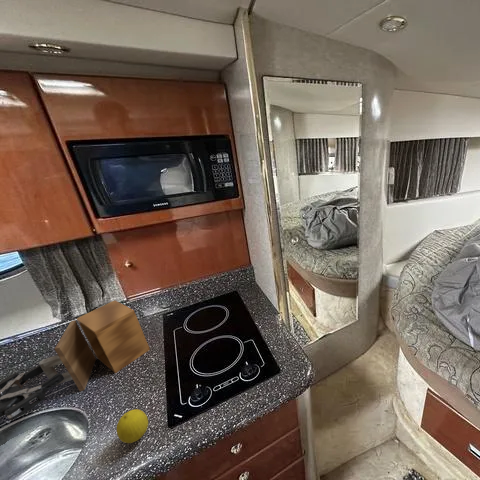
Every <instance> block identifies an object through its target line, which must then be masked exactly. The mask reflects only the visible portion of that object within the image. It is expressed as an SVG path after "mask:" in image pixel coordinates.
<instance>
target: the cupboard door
mask: <svg viewBox="0 0 480 480" xmlns="http://www.w3.org/2000/svg"><path fill="white" fill-rule="evenodd" d="M78 324H79V323H78V321H77V319H74V320H71V321H70V322H69V324H68V326H67V327H66V329H65V331H64V332H63V333H62V336H61V337H60V339H59V341H58V342H57V344H56V346H55V347H54V351H55V353H56V354H55V355H53V356H51V357H47V358H44V359H42V360H40V361H39V362H38V365H40V366H41V368H42V369H43V371H44V372H43V373H44V374H45V376H46V377H47V380H48V379H50V378H52V377H53V376H55V375H56V374H58V373H59V372H57V370H56V368H55V366H59V365H61V364H63V366H64V367H65V369H66V371H65V372H63V373H61V374H62V375H63V377H64V380H63V381H61V382H60V383H59V384H57V385H56V386H58V385H61V384H64V383H67V382H71V381H73V382H74V383H75V386H76V387H77V389H78V390H79V392H83V391H85V390H86V388H87V384H88V382H89V380H90V377H91V374H92V371H93V369H94V367H95V364H96V361H97V357H96V355H95V353H94V351H93V350H92V348H91V346H90V344H89V342H88V340H87V338H86V336H85V334H84V333H83V331H82V329H81V327H80V325H78Z"/></svg>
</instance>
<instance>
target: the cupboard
mask: <svg viewBox="0 0 480 480" xmlns="http://www.w3.org/2000/svg"><path fill="white" fill-rule="evenodd" d="M76 322H77V324H79V325H78V326H79V328H80V330H81V331H82V333H83V335H84V337H85V339H86V341H87V343H88V345H89V347H90V348H91V350H92V352H93V354H94V356H95V358H96V360H97V359H98V360H99V361H100V362H101V363H102V364H103V365H104V366H106V367H107V368H108V369H109V370H111V372H113V373H115V374H117V373H118V372H120V371H122V370H123V369H124V368H125V367H127V366H129V365H130V364H131V363H133V362H134V361H136V360H137V359H138V358H140V357H141V356H143V355H144V354H146V353H147V352H149V351H151V349H150V346H149V344H148V342H147V339H146V336H145V334H144V331H143V329H142V327H141V324H140V322H139V319H138V317H137V314H136V312H135V310H134V309H132V308H130V307H128V306H127V305H125V304H123V303H121V302H119V301H118V300H116V299H115V300H111V301H110V302H108V303H106V304H104V305H102V306H99V307H97V308H95V309H93V310H91V311H90V312H87V313H85V314H82V315H81V316H79V317H77V318H76Z"/></svg>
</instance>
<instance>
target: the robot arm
mask: <svg viewBox="0 0 480 480" xmlns="http://www.w3.org/2000/svg"><path fill="white" fill-rule="evenodd" d="M43 373H45V372H44V371H43V369H42V368H41V366H40V365H39V364H38V365H36V366H34V367H32V369H30V370H28V371H26V372H21V373H19V372H18V371H17V372H14V373H12V374H10V375H9V376H7V377H6V378H4V379H2V380H1V381H0V419H1V418H2V417H4V416H6V418H8V420H9V421H11V422H12V421H14V420H16V419H17V418H19V417H20V416H22V415H24V414H25V413H27V412H28V411H30V410H32V409H33V408H34V407H37V406H38V405H39V404H41V403H42V402H43V401H45V400H46V399H47V396H46V394H47V392H48V391H50V390H51V389H53V388H55V386H58V385H57V384H59V383H60V382H61V381H63V380H64V377H63V375H62V374H63V373H61V372H57V373H58V374H56V375H55V376H53V377H52V378H50V379H48V378H47V380H45V381H43V382H42V383H41V384H40V385H37V386H34V387H31V388H24V386H25V385H26V384H28V382H29V381H30V380H33V379H34V378H37V377H38V376H40V375H41V374H43ZM59 385H60V384H59ZM33 400H34V401H33Z"/></svg>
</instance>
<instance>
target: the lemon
mask: <svg viewBox="0 0 480 480" xmlns="http://www.w3.org/2000/svg"><path fill="white" fill-rule="evenodd" d="M148 428H149V419H148V416H147V413H145V412H144V411H143V410H142V409H138V408H137V409H136V408H135V409H130V410H128V411H126V412H125V413H124V414H122V416H121V417H120V418H119V419H118V421H117V424H116V435H117V437H118V439H119V440H120V441H121V442H123V443H125V444H132V443H135V442H137V441H138V440H140V439H141V438H142V437H144V435H145V434H146V432H147V430H148Z"/></svg>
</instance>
